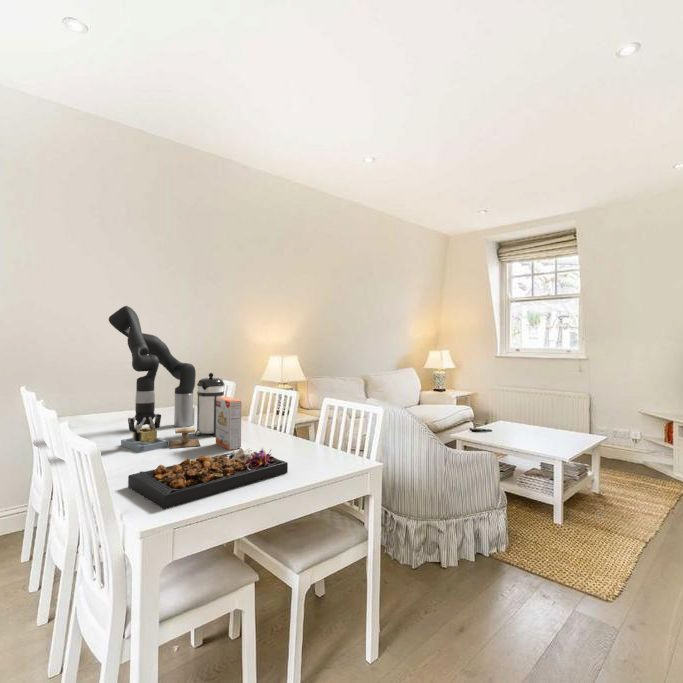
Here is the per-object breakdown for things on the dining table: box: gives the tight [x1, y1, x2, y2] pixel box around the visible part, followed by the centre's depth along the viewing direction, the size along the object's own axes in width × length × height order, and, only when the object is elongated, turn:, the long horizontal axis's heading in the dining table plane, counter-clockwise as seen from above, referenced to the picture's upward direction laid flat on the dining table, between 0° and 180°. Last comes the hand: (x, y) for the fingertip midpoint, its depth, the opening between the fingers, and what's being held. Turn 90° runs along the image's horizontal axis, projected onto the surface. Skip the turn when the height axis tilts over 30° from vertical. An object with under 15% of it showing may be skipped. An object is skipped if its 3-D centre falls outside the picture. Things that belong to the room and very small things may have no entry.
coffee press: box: [194, 372, 225, 438], centre depth 210 cm, size 17×16×30 cm
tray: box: [120, 437, 169, 453], centre depth 184 cm, size 17×12×2 cm
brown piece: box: [169, 427, 201, 450], centre depth 188 cm, size 12×12×6 cm
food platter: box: [127, 446, 289, 510], centre depth 143 cm, size 45×25×10 cm, turn 138°
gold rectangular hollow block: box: [131, 427, 158, 443], centre depth 184 cm, size 10×6×4 cm, turn 53°
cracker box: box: [215, 396, 242, 451], centre depth 186 cm, size 14×6×21 cm, turn 39°
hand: (144, 439), depth 184 cm, fingers closed on gold rectangular hollow block, 6 cm apart
